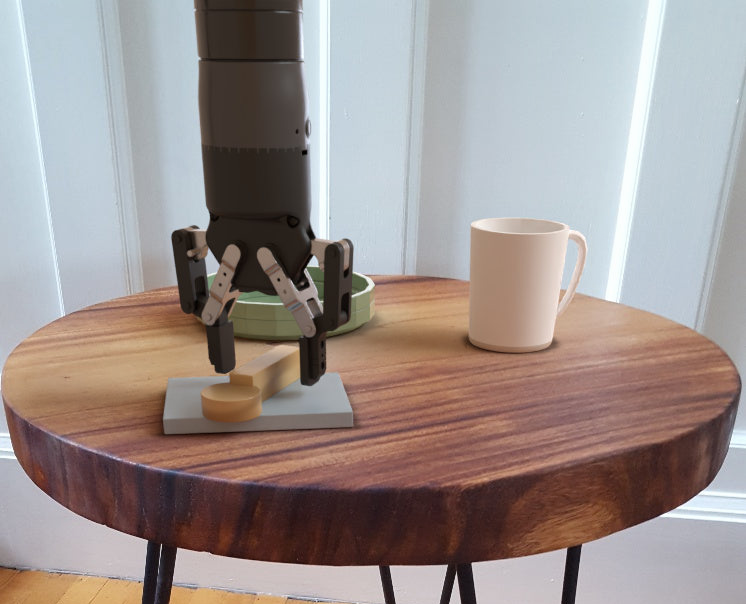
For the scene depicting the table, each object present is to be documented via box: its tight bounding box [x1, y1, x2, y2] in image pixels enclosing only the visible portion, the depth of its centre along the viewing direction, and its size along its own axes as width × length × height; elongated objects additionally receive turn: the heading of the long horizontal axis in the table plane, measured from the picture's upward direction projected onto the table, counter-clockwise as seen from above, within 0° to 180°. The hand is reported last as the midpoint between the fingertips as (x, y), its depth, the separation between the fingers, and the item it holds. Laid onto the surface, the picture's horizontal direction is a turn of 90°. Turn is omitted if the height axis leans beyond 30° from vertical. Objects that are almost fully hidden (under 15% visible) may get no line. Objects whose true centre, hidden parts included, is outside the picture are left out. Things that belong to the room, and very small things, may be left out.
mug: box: [468, 217, 589, 354], centre depth 90 cm, size 11×9×10 cm
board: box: [162, 371, 354, 435], centre depth 75 cm, size 14×10×1 cm
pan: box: [195, 264, 376, 341], centre depth 98 cm, size 18×18×4 cm
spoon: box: [201, 344, 300, 422], centre depth 73 cm, size 12×4×2 cm, turn 158°
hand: (267, 376), depth 75 cm, fingers open, 7 cm apart
